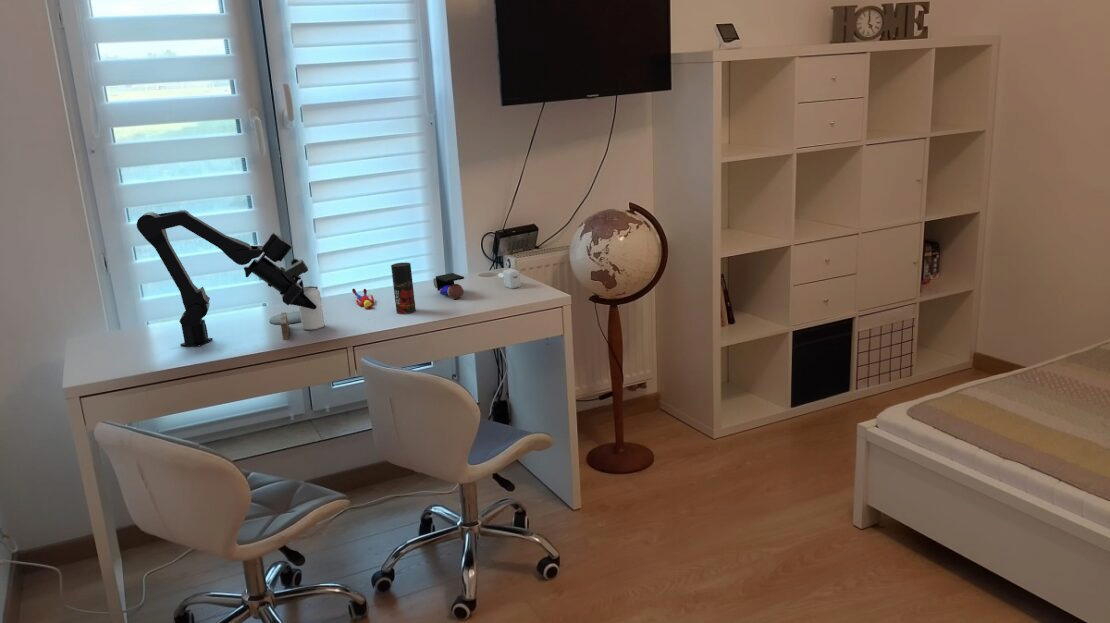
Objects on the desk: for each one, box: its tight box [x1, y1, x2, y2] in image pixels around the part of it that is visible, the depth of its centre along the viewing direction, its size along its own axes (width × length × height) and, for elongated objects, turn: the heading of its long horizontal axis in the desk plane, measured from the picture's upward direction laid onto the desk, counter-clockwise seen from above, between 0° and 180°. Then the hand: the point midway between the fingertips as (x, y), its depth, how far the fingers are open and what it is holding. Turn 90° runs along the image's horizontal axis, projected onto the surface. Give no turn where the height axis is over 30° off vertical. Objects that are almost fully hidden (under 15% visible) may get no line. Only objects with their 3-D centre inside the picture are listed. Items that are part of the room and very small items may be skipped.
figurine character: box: [432, 272, 465, 300], centre depth 281 cm, size 7×8×15 cm
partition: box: [280, 311, 290, 340], centre depth 249 cm, size 14×2×4 cm, turn 17°
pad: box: [268, 310, 302, 326], centre depth 266 cm, size 13×13×1 cm
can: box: [298, 285, 325, 331], centre depth 252 cm, size 6×6×12 cm
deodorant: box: [390, 262, 416, 315], centre depth 263 cm, size 6×6×15 cm
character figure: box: [351, 288, 375, 310], centre depth 279 cm, size 6×4×20 cm
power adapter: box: [495, 268, 521, 290], centre depth 289 cm, size 11×5×6 cm, turn 32°
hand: (315, 305), depth 253 cm, fingers closed on can, 6 cm apart
